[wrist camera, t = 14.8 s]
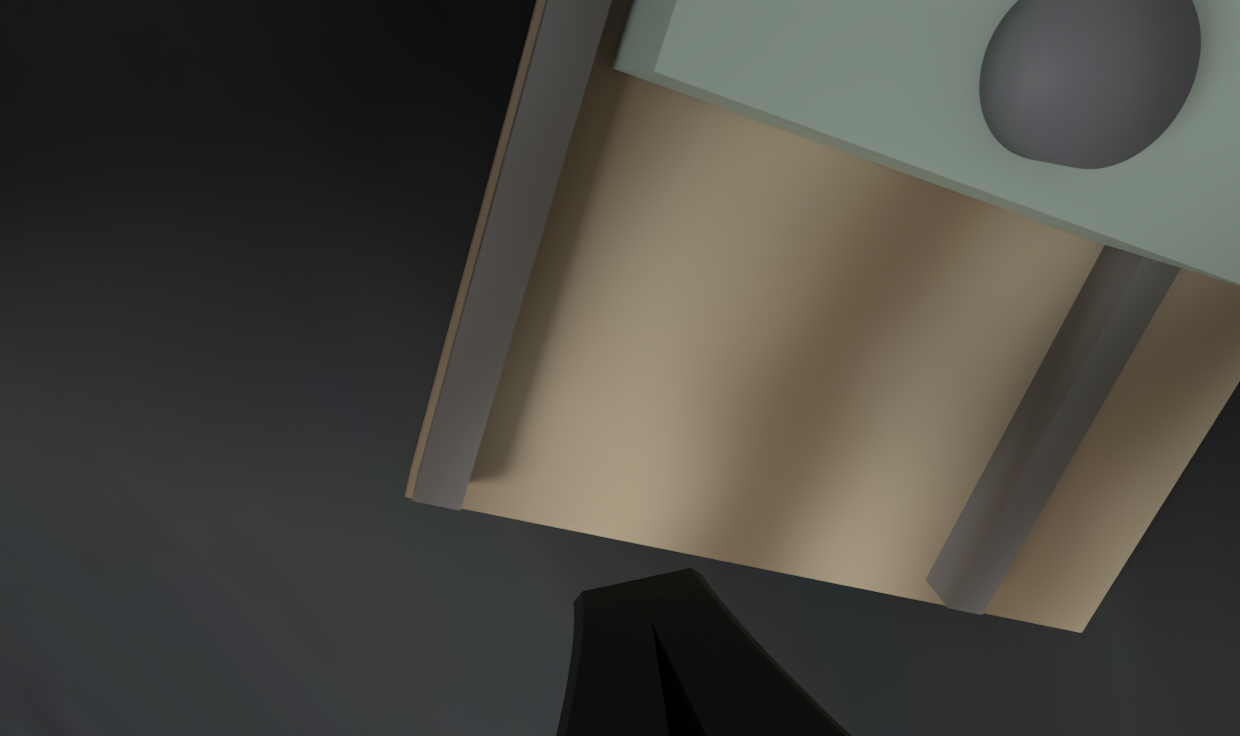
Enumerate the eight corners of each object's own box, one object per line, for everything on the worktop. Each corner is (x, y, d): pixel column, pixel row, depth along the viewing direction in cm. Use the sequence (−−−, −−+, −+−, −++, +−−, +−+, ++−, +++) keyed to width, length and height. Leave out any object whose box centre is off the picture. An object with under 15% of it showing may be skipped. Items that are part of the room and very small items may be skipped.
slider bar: (609, 67, 11) (669, 72, 7) (678, -158, 11) (787, -287, 7) (1091, 240, 14) (1332, 314, 10) (1182, 67, 13) (1490, 71, 9)
